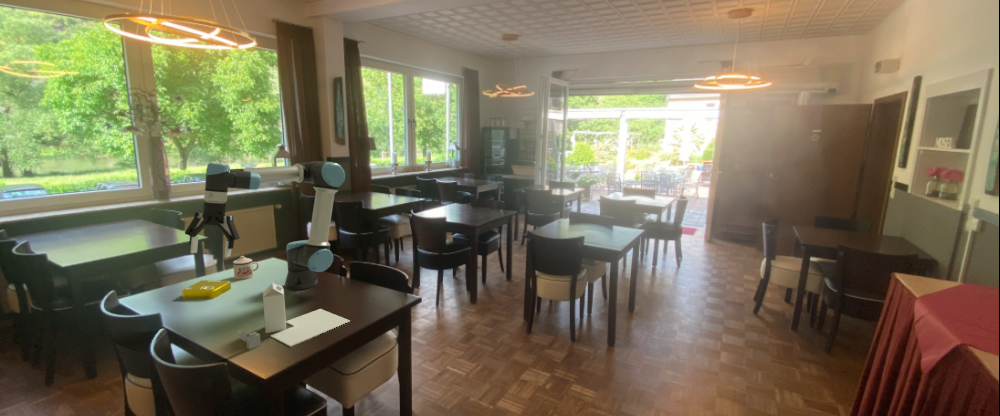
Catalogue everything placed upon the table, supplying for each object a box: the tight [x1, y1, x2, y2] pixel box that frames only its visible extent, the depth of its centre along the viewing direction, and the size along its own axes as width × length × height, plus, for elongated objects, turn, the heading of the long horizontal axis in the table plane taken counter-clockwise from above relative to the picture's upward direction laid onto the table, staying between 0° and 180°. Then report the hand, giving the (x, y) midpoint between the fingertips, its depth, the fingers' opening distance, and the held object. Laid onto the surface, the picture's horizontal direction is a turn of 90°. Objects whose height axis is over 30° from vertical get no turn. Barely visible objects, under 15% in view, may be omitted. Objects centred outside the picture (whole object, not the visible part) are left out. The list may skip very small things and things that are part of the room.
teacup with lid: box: [232, 255, 260, 280], centre depth 225 cm, size 12×9×12 cm
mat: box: [269, 308, 351, 348], centre depth 168 cm, size 26×21×1 cm
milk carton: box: [262, 282, 287, 334], centre depth 165 cm, size 7×7×19 cm
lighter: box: [236, 329, 262, 350], centre depth 150 cm, size 7×2×8 cm, turn 149°
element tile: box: [181, 279, 232, 300], centre depth 201 cm, size 15×15×5 cm
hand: (210, 254), depth 166 cm, fingers open, 13 cm apart
